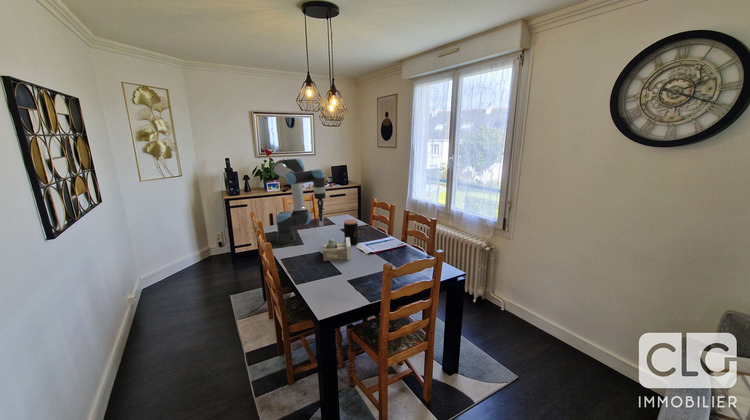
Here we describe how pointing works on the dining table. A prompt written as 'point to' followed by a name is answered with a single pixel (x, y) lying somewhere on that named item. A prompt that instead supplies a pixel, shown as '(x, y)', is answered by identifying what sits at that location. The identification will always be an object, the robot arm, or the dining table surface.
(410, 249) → the dining table surface
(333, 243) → the dowel
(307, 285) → the dining table surface
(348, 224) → the coffee jar
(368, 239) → the dining table surface
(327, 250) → the socket block
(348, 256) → the wall
